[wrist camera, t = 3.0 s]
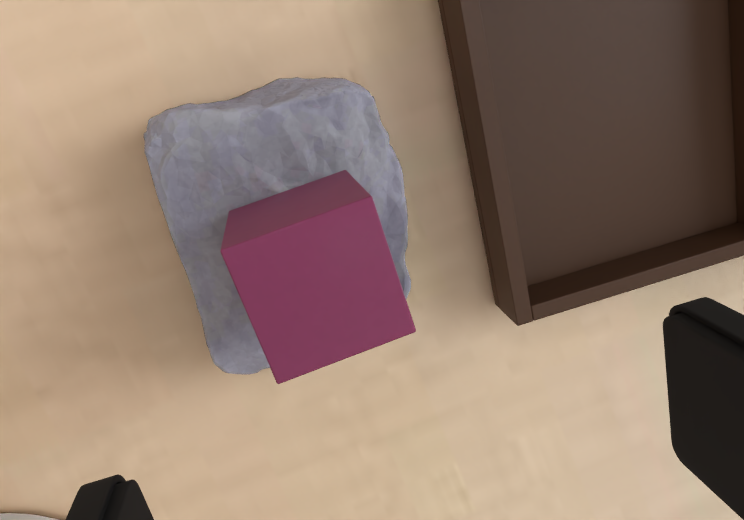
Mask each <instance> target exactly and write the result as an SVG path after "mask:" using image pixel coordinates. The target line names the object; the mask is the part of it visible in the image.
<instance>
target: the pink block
mask: <svg viewBox="0 0 744 520" xmlns="http://www.w3.org/2000/svg"><path fill="white" fill-rule="evenodd" d="M220 252H221V255H222V257H223V259H224V261H225V264H226V266H227V268H228V271H229V273H230V275H231V278H232V280H233V282H234V285H235V287H236V289H237V292H238V294H239V296H240V299H241V301H242V303H243V306H244V308H245V310H246V313H247V315H248V317H249V319H250V322H251V324H252V326H253V329H254V331H255V333H256V336H257V338H258V340H259V343H260V345H261V347H262V350H263V352H264V354H265V357H266V359H267V361H268V364H269V366H270V368H271V371H272V373H273V375H274V377H275V380H276V382H277V383H278V384H280V383H283V382H285V381H288V380H290V379H293V378H296V377H298V376H301V375H304V374H306V373H309V372H311V371H314V370H317V369H319V368H322V367H325V366H327V365H330V364H332V363H335V362H338V361H340V360H343V359H346V358H348V357H351V356H353V355H356V354H359V353H361V352H364V351H367V350H369V349H372V348H374V347H377V346H380V345H382V344H385V343H388V342H390V341H393V340H395V339H398V338H401V337H403V336H406V335H409V334H411V333H414V332H416V329H415V326H414V323H413V320H412V317H411V314H410V311H409V308H408V304H407V301H406V298H405V295H404V292H403V289H402V286H401V283H400V280H399V277H398V274H397V271H396V268H395V265H394V262H393V259H392V256H391V253H390V249H389V246H388V243H387V240H386V237H385V234H384V231H383V228H382V225H381V222H380V219H379V216H378V213H377V210H376V207H375V204H374V201H373V198H372V196H371V195H370V194H369V193H368V192H367V191H366V190H365V189H364V188H363V187H362V186H361V185H360V184H359V183H358V182H357V181H356V180H355V179H354V178H353V177H352V176H351V175H350V173H349V172H348V171H347V170H343V171H340V172H337V173H335V174H332V175H329V176H326V177H323V178H321V179H318V180H315V181H312V182H309V183H306V184H304V185H301V186H298V187H295V188H292V189H290V190H287V191H284V192H281V193H278V194H276V195H273V196H270V197H267V198H264V199H262V200H259V201H256V202H253V203H250V204H248V205H245V206H242V207H239V208H236V209H233V210H231V211H229V213H228V218H227V222H226V227H225V232H224V236H223V241H222V245H221V250H220Z"/></svg>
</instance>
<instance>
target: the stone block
mask: <svg viewBox="0 0 744 520" xmlns="http://www.w3.org/2000/svg"><path fill="white" fill-rule="evenodd" d="M144 140H145V154H146V157H147V160H148V164H149V167H150V170H151V174H152V179H153V182H154V186H155V189H156V193H157V196H158V199H159V202H160V204H161V207H162V210H163V212H164V215H165V218H166V221H167V224H168V227H169V230H170V233H171V236H172V239H173V242H174V244H175V247H176V249H177V252H178V254H179V257H180V259H181V261H182V264H183V266H184V268H185V271H186V273H187V276H188V279H189V281H190V284H191V287H192V290H193V293H194V296H195V300H196V304H197V308H198V310H199V313H200V316H201V319H202V324H203V329H204V334H205V338H206V343H207V346H208V348H209V351H210V354H211V357H212V360H213V362H214V364H215V365H216V366H218V367H219V368H220V369H221V370H222V371H224V372H226V373H232V374H253V373H257V372H259V371H260V370H262V369H265V368H270V366H269V364H268V361H267V359H266V357H265V354H264V352H263V350H262V347H261V345H260V343H259V340H258V338H257V336H256V333H255V331H254V329H253V326H252V324H251V322H250V319H249V317H248V315H247V313H246V310H245V308H244V306H243V303H242V301H241V299H240V296H239V294H238V292H237V289H236V287H235V285H234V282H233V280H232V278H231V275H230V273H229V271H228V268H227V266H226V264H225V261H224V259H223V257H222V255H221V252H220V250H221V245H222V241H223V236H224V232H225V227H226V222H227V218H228V213H229V211H231V210H233V209H236V208H239V207H242V206H245V205H248V204H250V203H253V202H256V201H259V200H262V199H264V198H267V197H270V196H273V195H276V194H278V193H281V192H284V191H287V190H290V189H292V188H295V187H298V186H301V185H304V184H306V183H309V182H312V181H315V180H318V179H321V178H323V177H326V176H329V175H332V174H335V173H337V172H340V171H343V170H347V171H348V172H349V173H350V175H351V176H352V177H353V178H354V179H355V180H356V181H357V182H358V183H359V184H360V185H361V186H362V187H363V188H364V189H365V190H366V191H367V192H368V193H369V194H370V195H371V196H372V198H373V201H374V204H375V207H376V210H377V213H378V216H379V219H380V222H381V225H382V228H383V231H384V234H385V237H386V240H387V243H388V246H389V249H390V253H391V256H392V259H393V262H394V265H395V268H396V271H397V274H398V277H399V280H400V283H401V286H402V289H403V292H404V295H405V298H407V296H408V294H409V291H410V289H411V279H410V276H409V273H408V270H407V267H406V264H405V252H406V249H407V245H408V231H407V230H408V229H407V225H408V215H407V205H406V198H405V196H404V181H403V173H402V168H401V165H400V163H399V160H398V158H397V156H396V154H395V152H394V150H393V148H392V147H391V145H390V144H389V134H388V132H387V131H386V130H385V128H384V127H383V125H382V123H381V120H380V116H379V113H378V110H377V107H376V103H375V99H374V97H373V96H371V94H370V93H369V91H367V90H366V89H365V88H363V87H362V86H360V85H359V84H356V83H354V82H350V81H348V80H346V79H342V78H319V79H301V78H292V79H277V80H275V81H273V82H271V83H269V84H267V85H265V86H263V87H261V88H259V89H256V90H251V91H249V92H247V93H246V94H244V95H242V96H239V97H236V98H233V99H230V100H227V101H218V102H214V103H203V104H190V103H189V104H185V105H181V106H178V107H175V108H171V109H167V110H165V111H164V112H162V113H161V114H159V115H156V116H154V117H151V118H150V119H149V122H148V126H147V131H146V132H145V133H144Z"/></svg>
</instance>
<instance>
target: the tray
mask: <svg viewBox="0 0 744 520" xmlns="http://www.w3.org/2000/svg"><path fill="white" fill-rule="evenodd" d="M438 2H439V8H440V13H441V18H442V24H443V29H444V34H445V39H446V45H447V50H448V55H449V61H450V66H451V71H452V76H453V82H454V87H455V92H456V98H457V103H458V108H459V113H460V119H461V124H462V129H463V135H464V140H465V145H466V150H467V156H468V161H469V166H470V172H471V177H472V182H473V187H474V193H475V198H476V203H477V208H478V214H479V219H480V224H481V230H482V235H483V240H484V245H485V251H486V256H487V261H488V267H489V272H490V277H491V282H492V288H493V293H494V298H495V304H496V305H497V306H498V307H499V308H500V309H501V310H502V311H503V312H504V313H505V314H506V315H507V316H508V317H509V318H510V319H511V320H512V321H513V322H514V323H515V324H516V325H518V326H519V325H522V324H525V323H528V322H532V321H533V320H537V319H541V318H544V317H547V316H550V315H554V314H557V313H560V312H563V311H566V310H570V309H573V308H576V307H579V306H582V305H586V304H589V303H592V302H595V301H599V300H602V299H605V298H608V297H611V296H615V295H618V294H621V293H624V292H627V291H631V290H634V289H637V288H640V287H644V286H647V285H650V284H653V283H656V282H660V281H663V280H666V279H669V278H672V277H676V276H679V275H682V274H685V273H689V272H692V271H695V270H698V269H701V268H705V267H708V266H711V265H714V264H717V263H721V262H724V261H727V260H730V259H734V258H737V257H740V256H743V255H744V0H438Z"/></svg>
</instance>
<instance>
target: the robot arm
mask: <svg viewBox="0 0 744 520" xmlns="http://www.w3.org/2000/svg"><path fill="white" fill-rule="evenodd" d="M663 334H664V347H665V360H666V373H667V387H668V400H669V413H670V426H671V439H672V446H673V449H674V451H675V453H676V455H677V457H678V458H679V460H680V461H681V462H682V463H683V464H684V465H685V466H686V467H687V468H688V469H689V470H690V471H691V472H692V473H693V474H694V475H696V476H697V477H698V478H699V479H700V480H701V481H702V482H703V483H704V484H705V485H706V486H707V487H709V488H710V489H711V490H712V491H713V492H714V493H715V494H716V495H717V496H718V497H719V498H720V499H722V500H723V501H724V502H725V503H726V504H727V505H728V506H729V507H730V508H731V509H732V510H733V511H735V512H736V513H737V514H738V515H739V516H740V517H741V518H742V519H743V520H744V315H742V314H740V313H738V312H736V311H734V310H732V309H730V308H728V307H726V306H724V305H722V304H720V303H718V302H716V301H714V300H712V299H710V298H707V297H704V298H699V299H696V300H693V301H689V302H686V303H683V304H680V305H676V306H674V307H673V308H671V310H670V313H669V316H668V317H666V318H665V319H664V322H663ZM0 520H58V519H54V518H49V517H45V516H40V515H33V514H18V513H2V514H0ZM66 520H154V519H153V517H152V514H151V512H150V510H149V508H148V505H147V503H146V501H145V499H144V496H143V494H142V492H141V490H140V487H139V485H138V484H137V482H136V481H135V480H129V481H125V479H124V478H123V477H122V476H121V475H115V476H111V477H108V478H105V479H101V480H98V481H95V482H92V483H88V484H85V485H83V486H81V487H80V489H79V491H78V493H77V495H76V497H75V500H74V502H73V504H72V506H71V509H70V511H69V513H68V515H67V518H66Z"/></svg>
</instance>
